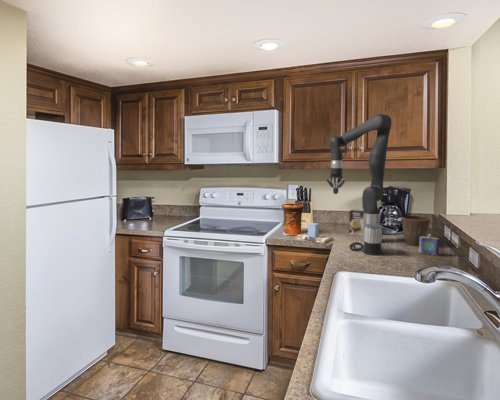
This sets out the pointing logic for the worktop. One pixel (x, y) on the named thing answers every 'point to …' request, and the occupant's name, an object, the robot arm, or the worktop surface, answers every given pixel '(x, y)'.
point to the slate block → (313, 230)
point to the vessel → (292, 218)
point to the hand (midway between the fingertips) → (335, 193)
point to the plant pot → (414, 228)
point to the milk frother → (370, 240)
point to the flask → (429, 245)
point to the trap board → (318, 239)
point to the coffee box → (356, 222)
